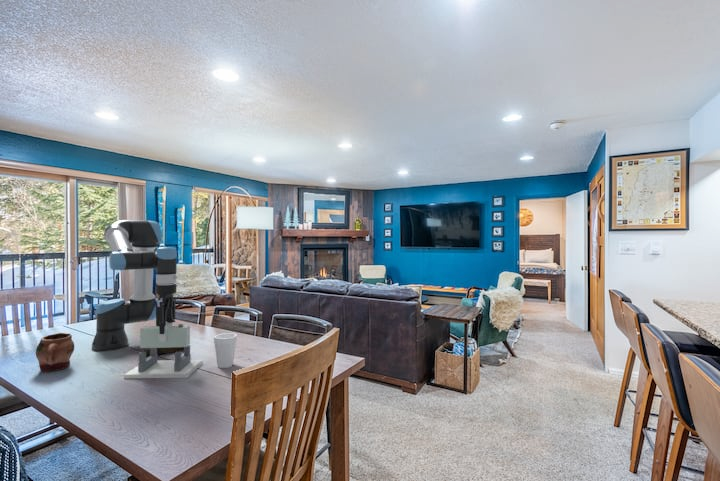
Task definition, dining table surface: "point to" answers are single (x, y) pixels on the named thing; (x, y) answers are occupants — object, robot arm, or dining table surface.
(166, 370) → the clip rack
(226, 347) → the foam cup
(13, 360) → the dining table surface
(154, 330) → the tapered bar with knob
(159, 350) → the hand tool
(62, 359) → the decorative planter
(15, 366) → the dining table surface
